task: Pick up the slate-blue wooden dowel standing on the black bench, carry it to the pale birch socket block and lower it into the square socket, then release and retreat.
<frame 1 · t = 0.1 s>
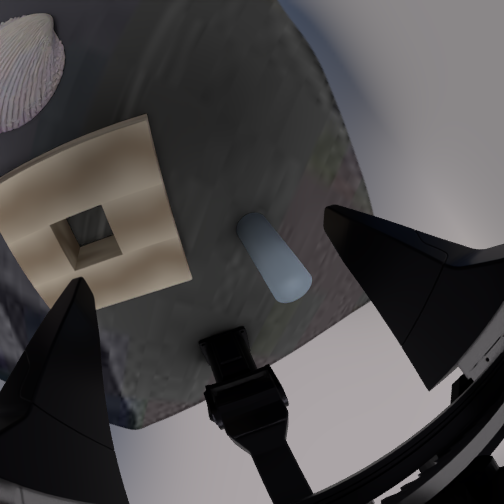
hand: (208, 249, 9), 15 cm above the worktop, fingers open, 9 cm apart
socket block: (91, 218, 21), on the worktop
seashell: (12, 71, 11), on the worktop
dowel: (251, 226, 28), on the worktop
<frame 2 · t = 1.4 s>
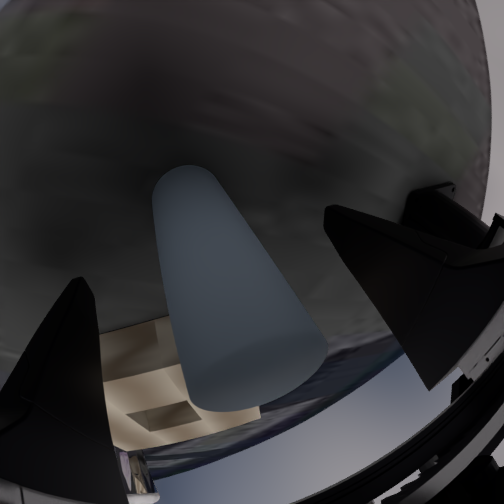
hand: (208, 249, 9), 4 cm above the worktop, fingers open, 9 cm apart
socket block: (157, 379, 20), on the worktop
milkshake: (125, 440, 26), on the worktop
dowel: (186, 198, 12), on the worktop
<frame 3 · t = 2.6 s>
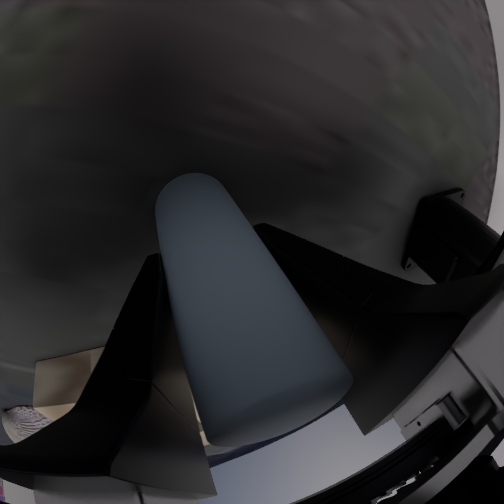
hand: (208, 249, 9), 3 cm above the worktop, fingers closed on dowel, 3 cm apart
socket block: (161, 390, 19), on the worktop
seashell: (46, 421, 18), on the worktop
dowel: (192, 208, 12), on the worktop, touching gripper
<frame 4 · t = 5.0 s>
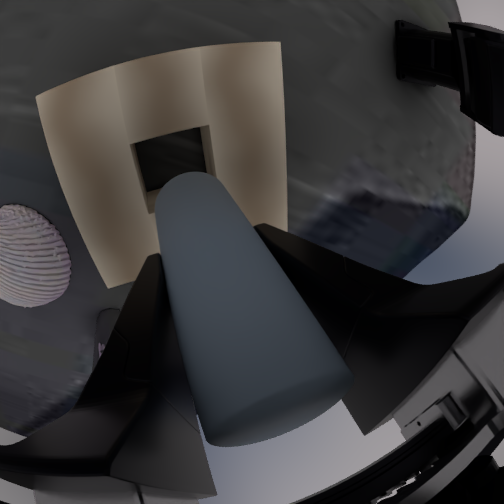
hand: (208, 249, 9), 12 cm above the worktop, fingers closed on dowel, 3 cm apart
socket block: (170, 154, 18), on the worktop
seashell: (21, 255, 18), on the worktop
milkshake: (111, 320, 25), on the worktop
dowel: (192, 207, 12), point 9 cm above the worktop, touching gripper
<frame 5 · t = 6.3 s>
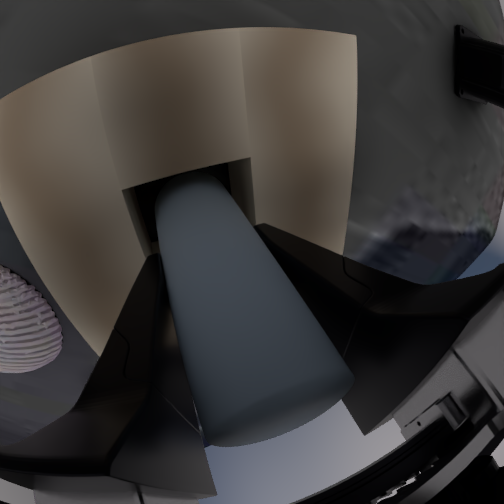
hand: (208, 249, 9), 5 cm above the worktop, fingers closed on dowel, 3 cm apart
socket block: (184, 191, 13), on the worktop
seashell: (1, 314, 13), on the worktop
dowel: (192, 207, 12), point 2 cm above the worktop, touching gripper
when the fingers open (4 cm above the worktop, at t = 7.2 s): dowel drops 1 cm, resting in socket block.
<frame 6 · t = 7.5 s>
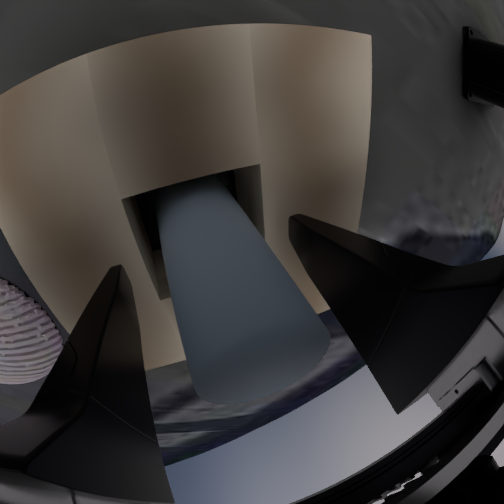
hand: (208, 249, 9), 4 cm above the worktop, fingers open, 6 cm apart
socket block: (187, 197, 12), on the worktop
seashell: (1, 325, 12), on the worktop
dowel: (188, 195, 12), resting in socket block
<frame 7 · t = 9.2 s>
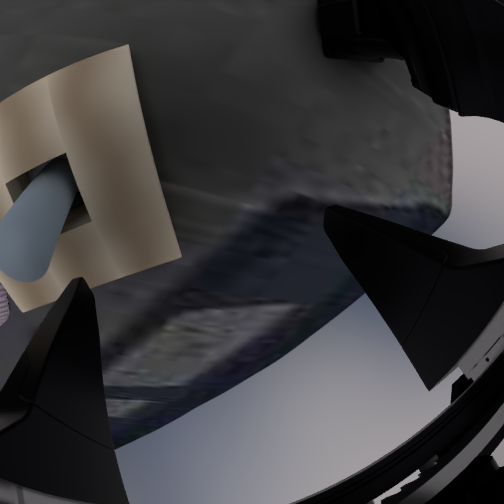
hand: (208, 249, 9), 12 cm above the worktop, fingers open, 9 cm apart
socket block: (59, 181, 15), on the worktop
dowel: (60, 180, 15), resting in socket block
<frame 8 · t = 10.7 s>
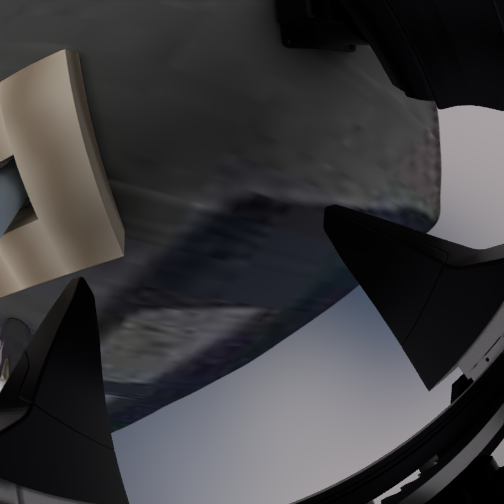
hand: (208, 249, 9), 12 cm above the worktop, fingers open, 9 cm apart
socket block: (18, 180, 14), on the worktop
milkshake: (16, 328, 21), on the worktop
dowel: (18, 178, 14), resting in socket block
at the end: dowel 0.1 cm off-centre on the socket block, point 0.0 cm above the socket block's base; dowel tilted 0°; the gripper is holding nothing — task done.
